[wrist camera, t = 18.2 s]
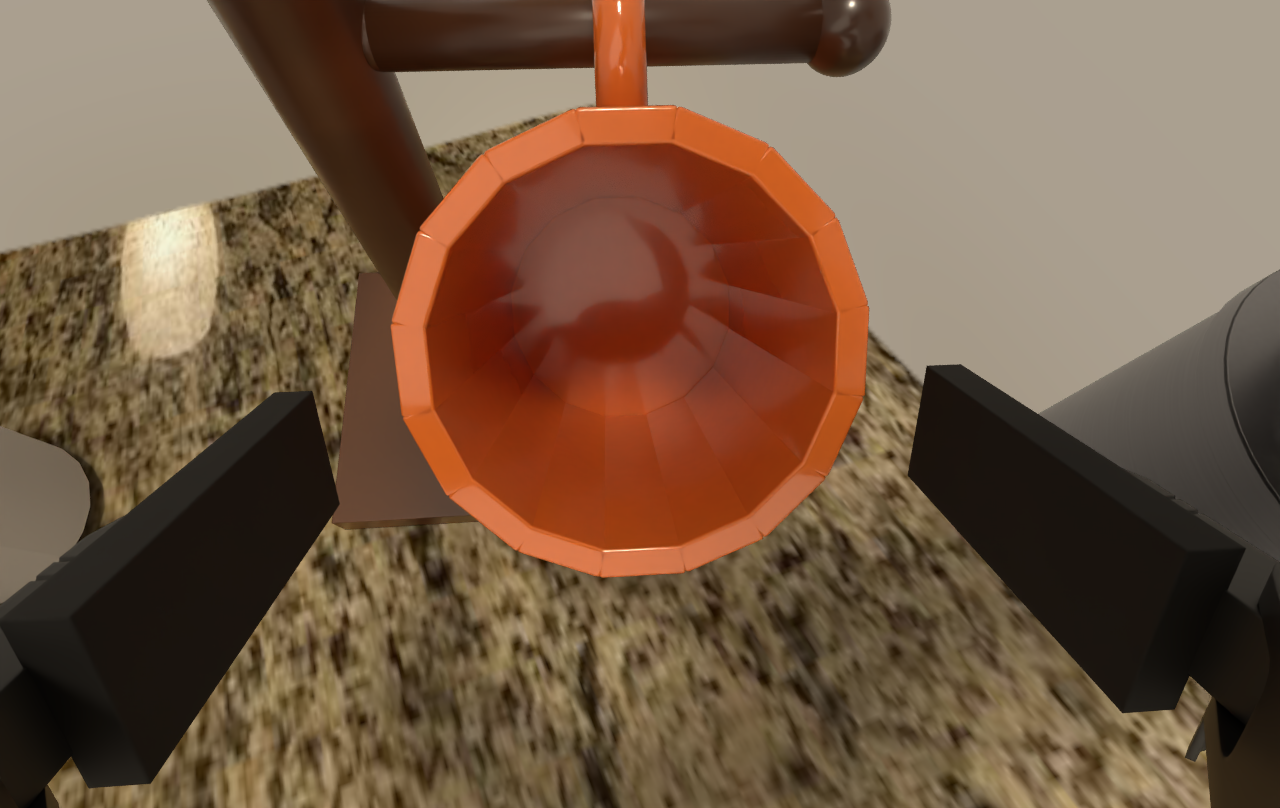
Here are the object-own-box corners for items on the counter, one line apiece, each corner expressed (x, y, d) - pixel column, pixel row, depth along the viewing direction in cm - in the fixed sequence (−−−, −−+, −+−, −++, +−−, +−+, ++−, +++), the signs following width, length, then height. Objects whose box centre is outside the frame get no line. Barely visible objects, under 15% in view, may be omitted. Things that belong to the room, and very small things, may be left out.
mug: (740, 420, 23) (857, 564, 12) (508, 430, 23) (422, 589, 12) (741, 41, 20) (897, -199, 9) (475, 46, 20) (323, -198, 9)
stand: (719, 274, 35) (888, -349, 13) (750, 505, 30) (1090, 129, 9) (369, 288, 34) (-77, -363, 12) (345, 529, 29) (-453, 173, 7)
